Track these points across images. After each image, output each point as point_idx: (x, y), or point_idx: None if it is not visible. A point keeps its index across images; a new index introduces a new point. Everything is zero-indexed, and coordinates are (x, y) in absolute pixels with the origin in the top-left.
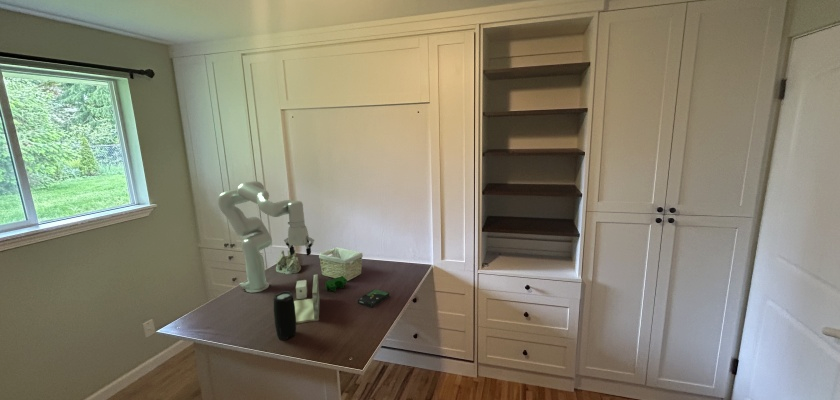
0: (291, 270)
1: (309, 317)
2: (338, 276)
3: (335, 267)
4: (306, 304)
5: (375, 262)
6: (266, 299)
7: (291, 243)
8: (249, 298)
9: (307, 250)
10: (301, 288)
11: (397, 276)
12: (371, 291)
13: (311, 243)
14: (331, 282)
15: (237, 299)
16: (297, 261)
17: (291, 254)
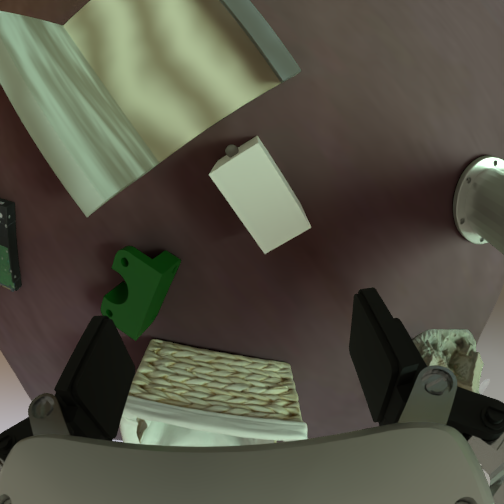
0: (420, 347)
1: (84, 22)
2: (190, 354)
3: (201, 387)
4: (160, 94)
5: None
6: (402, 105)
7: (386, 475)
8: (468, 108)
9: (69, 369)
10: (229, 159)
11: (52, 380)
12: (11, 273)
13: (1, 458)
14: (137, 279)
15: (496, 98)
16: None
17: (360, 295)
